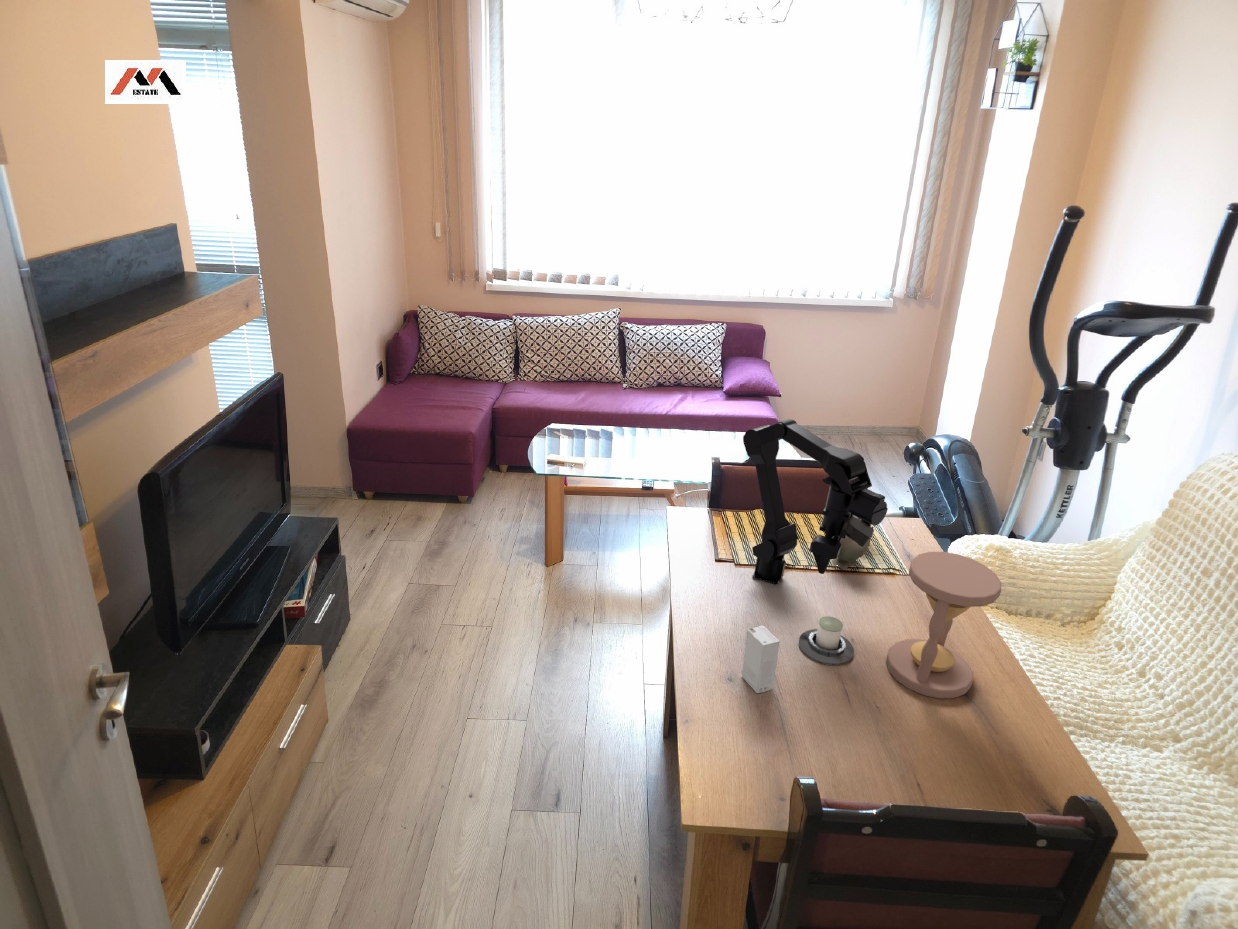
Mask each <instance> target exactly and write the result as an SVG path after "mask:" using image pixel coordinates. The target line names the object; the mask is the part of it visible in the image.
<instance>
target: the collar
mask: <svg viewBox="0 0 1238 929" xmlns="http://www.w3.org/2000/svg"><path fill="white" fill-rule="evenodd" d="M817 630H818V628H815V629H809V630H807V631H804V632H803V633H801V635H800V636H799V638H798V648H799V649H800V651H801V652H802V653H803V654H804V655H805V656H806V657H808V658H809V659H811V660H812V661H814V662H816V663H819V664H823V665H828V666H840V665H844V664H847V663H849V662H850V661H851V660H852V659H853V657H854V653H855V648H854V646H853V644H852V643H851V641H850V640H849V639H847V638H846V637H845V636H843V635H842V634H841V636H840V640H839V645H838V649H837V650H825V649H822V648H820V647H818V646H817V645H815V640H816V635H817Z"/></svg>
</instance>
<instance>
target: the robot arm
mask: <svg viewBox="0 0 1238 929" xmlns="http://www.w3.org/2000/svg"><path fill="white" fill-rule="evenodd" d="M742 437H743V438H742V441H743V446H744V448H745V453H746V454H747V457H748V458H749V459H750V460H751V461H752V463H753V464H754V466H755V471H756V477H757V483H758V488H759V492H760V500H761V505H762V508H763V509H762V510H763V513H764V514H763V515H764V516H763V517H764V525H763V528H762V531H761V543H758V544H757V545H754V546H752V547H751V551H752V556H754V557H755V558H756V562H755V565H754V566H755V568H754V571H753V574H752V576H751V577H752V578H753V579H757V580H760V581H764V582H767V583H771V584H774V585H778V584H779V582H780V580H782V579H783V576H784V574H785V567H786V560H785V555H788V554H790V553H791V551H793V550H795V549H796V547H797V545H798V540H799V539H800V538H799V535H798V532H797V525H796V523H790V521H789V520H788V519H787V517H786V512H785V508H784V502H783V496H782V491H781V486H780V481H779V480H780V479H779V474H778V468H777V461H776V460H777V457H778V454H779V450H780V440H784V441H785V442H787V443H788V444H790V445H791V446H793V447H795V448H796V449H797V450H799V451H800V452H802V453H804V454H805V455H807V457H808V456H809V457H810V459H811V458H812V459H813V460H815V461H816V462H818V463H819V464H820V466H821V467H822V469H823V471H824V473H826V475H827V476H826V477H825V478H822V479H821V480H822V483H823V484H826V485H827V486H829V489H828V494H827V498H826V502H825V506H824V509H823V510H822V521H821V524H820V526H819V529H818V530H819V531H820V532H824V534H825V535H822V534H817V535H815V536H813V539H812V541H811V542H810V545H809V552H810V553H812V555H813V558H814V562H815V564H816V568H817V571H818V573H819V574H821V575H824V574H825V572H826V570H827V568H828V565H829V563H830V562H831V561H832V559H837V557H838V555H839V553H840V550H841V543H840V540H841V538H844V539H845V537H846V535H847V536H848V537H849V538H850V539H852V540H853V541H855V542H856V543H858V545H859V546H862V547H864V546H865V545H866V543H867V542H868V541H869V539H870V538H871V539H872V537H873V534H874V532H875V529H874V526H876V527H877V526H878V525H879V524H881V523H882V521H883V520H884V519H885V517H886V515H887V513H888V511H889V510H888V509H889V507H888V504H887V501H885V500H886V496H885V495H884V494H881V493H877V492H874V491H872V490H871V489H869V488H872V486H873V485H872V481H871V477H870V476H869V473H868V472H869V471H868V470H867V467H866V463H865V458H864V456H862V455H861V454H860V453H859V452H856V451H853V450H850V449H848V448H843V447H837V446H835V445H833V444H830V443H829V442H827V441H825V439H822V438H821V437H819V436H817V435H816V434H814V432H811V431H810V430H808V429H806V428H805V427H804V426H801V425H800V424H798V423H797V421H795V420H794V419H791V418H787V419H784V420H780V421H778V422H776V423H775V424H773V425H770V424H764V425H761V426H757V427H754V428H750V429H747V430H746V431H745V433H744V435H743V436H742ZM855 479H858V480H857V481H855V482H853V483H852V482H850V481H853V480H855ZM853 515H854V516H856V517H858V519H857V518H855V517H853Z"/></svg>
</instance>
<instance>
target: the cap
mask: <svg viewBox="0 0 1238 929" xmlns="http://www.w3.org/2000/svg"><path fill="white" fill-rule="evenodd" d="M843 626H844V624H843V622H842V621H841V620H840V619H838V618H836V617H834V616H829V615H825V616H822V617H820V618H819V620H818V625H817V629H818V630H817V635H816V640H815V645H817V646H818V647H820V648H822V649H825V650H837V649H838V645H839V640H840V636H841V635H842V631H843Z"/></svg>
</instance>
